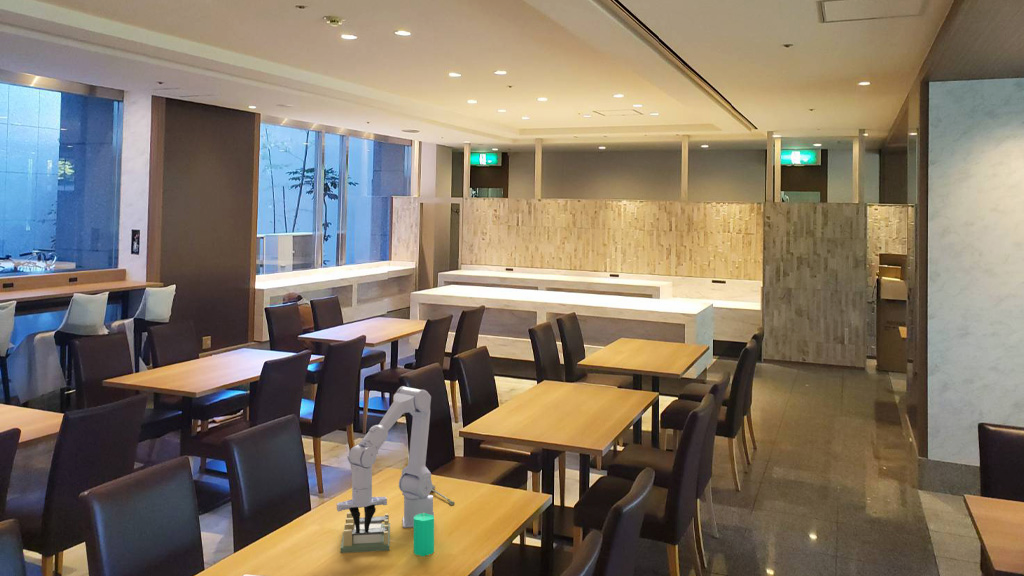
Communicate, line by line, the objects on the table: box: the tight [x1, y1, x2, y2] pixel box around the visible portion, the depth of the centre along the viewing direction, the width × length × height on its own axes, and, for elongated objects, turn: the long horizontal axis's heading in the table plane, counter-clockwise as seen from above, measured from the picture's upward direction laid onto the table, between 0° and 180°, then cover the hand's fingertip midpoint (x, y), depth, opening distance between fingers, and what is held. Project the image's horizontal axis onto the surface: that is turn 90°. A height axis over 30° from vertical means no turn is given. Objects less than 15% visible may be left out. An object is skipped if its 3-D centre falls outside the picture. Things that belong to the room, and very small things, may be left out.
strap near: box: [352, 527, 388, 536], centre depth 224 cm, size 11×3×1 cm, turn 98°
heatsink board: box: [340, 511, 391, 554], centre depth 228 cm, size 14×17×6 cm
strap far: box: [354, 515, 388, 524], centre depth 232 cm, size 11×3×1 cm, turn 98°
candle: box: [413, 513, 435, 557], centre depth 220 cm, size 6×6×12 cm
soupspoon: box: [431, 484, 455, 506], centre depth 267 cm, size 22×3×7 cm
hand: (362, 531), depth 223 cm, fingers closed on strap near, 2 cm apart
